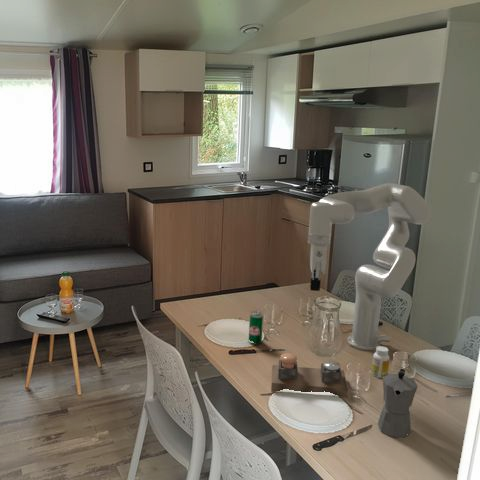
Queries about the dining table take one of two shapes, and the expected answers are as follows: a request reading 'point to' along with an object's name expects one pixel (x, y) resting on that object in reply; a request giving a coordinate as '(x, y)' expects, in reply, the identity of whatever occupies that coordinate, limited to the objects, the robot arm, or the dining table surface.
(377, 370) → the supplement bottle
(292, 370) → the panel
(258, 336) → the soda can
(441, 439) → the dining table surface
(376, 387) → the dining table surface
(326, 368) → the grey plunger
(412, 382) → the coffeepot
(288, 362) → the terracotta plunger
